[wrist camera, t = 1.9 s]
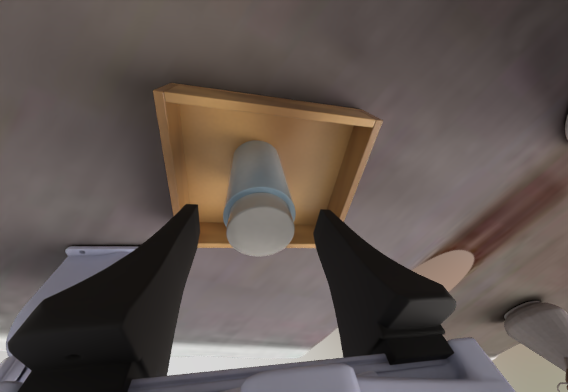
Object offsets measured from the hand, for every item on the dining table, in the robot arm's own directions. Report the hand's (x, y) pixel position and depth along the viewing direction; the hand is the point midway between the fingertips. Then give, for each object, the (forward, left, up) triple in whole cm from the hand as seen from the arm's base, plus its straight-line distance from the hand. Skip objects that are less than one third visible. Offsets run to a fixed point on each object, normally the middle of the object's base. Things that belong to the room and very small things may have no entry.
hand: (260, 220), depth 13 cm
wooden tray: (+1, -1, -8) cm, 9 cm away
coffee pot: (+58, -30, -9) cm, 66 cm away
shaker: (0, 0, -8) cm, 8 cm away
